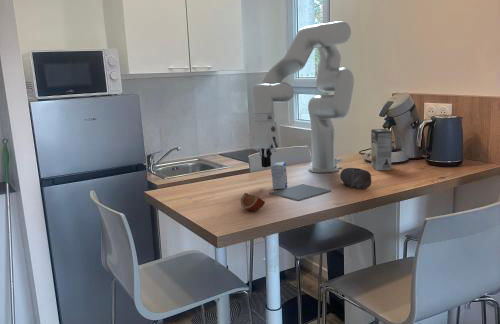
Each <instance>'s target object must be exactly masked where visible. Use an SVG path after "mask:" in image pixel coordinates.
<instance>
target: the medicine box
mask: <svg viewBox="0 0 500 324" xmlns="http://www.w3.org/2000/svg"><path fill="white" fill-rule="evenodd" d="M270 171H271V181H272V183H271V184H272V190H281V189H285V188H287V186H288V176H287V175H288V173H287V163H286V162H285V161H279V162H277V161H276V162H274V163H273V164H272V165H271V166H270Z"/></svg>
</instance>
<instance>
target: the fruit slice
mask: <svg viewBox="0 0 500 324" xmlns="http://www.w3.org/2000/svg"><path fill="white" fill-rule="evenodd" d="M240 204H241V207H242V208H243V209H244V210H246V211H248V212H256V211H258V210H260V209H261V208H262V207H263V206H264V205H265V204H266V202H265V200H263V199H262V198H261V197H259V196H257V195H254V194H252V195H251V194H249V193H246V192H244V193H243V194H242V196H241V198H240Z"/></svg>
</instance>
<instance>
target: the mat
mask: <svg viewBox="0 0 500 324" xmlns="http://www.w3.org/2000/svg"><path fill="white" fill-rule="evenodd" d="M330 192H332V190H331V189H328V188H324V187H319V186H315V185H310V184H305V183H301V184H297V185H294V186H293V185H292V186H290V187H285V189H277V190H274V191H270V192H269V193H270V194H269V195H274V196H277V197H282V198H285V199H290V200H293V201H297V202H300V201H303V200H306V199H307V200H308V199H310V198H313V197H317V196H321V195H323V194H327V193H330Z"/></svg>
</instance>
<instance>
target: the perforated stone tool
mask: <svg viewBox="0 0 500 324" xmlns="http://www.w3.org/2000/svg"><path fill="white" fill-rule="evenodd" d="M339 176H340V177H339V178H340V180H341V182H342V183H343V184H344V185H347V186H348V187H350V188H353V189H356V188H357V189H358V190H363V189H368V188H369V187H370V186H371V184H372V174H371V173H370V171H368V170H365V169H361V168H358V167H346V168H343V169H342V170H341V172H340V175H339Z"/></svg>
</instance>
